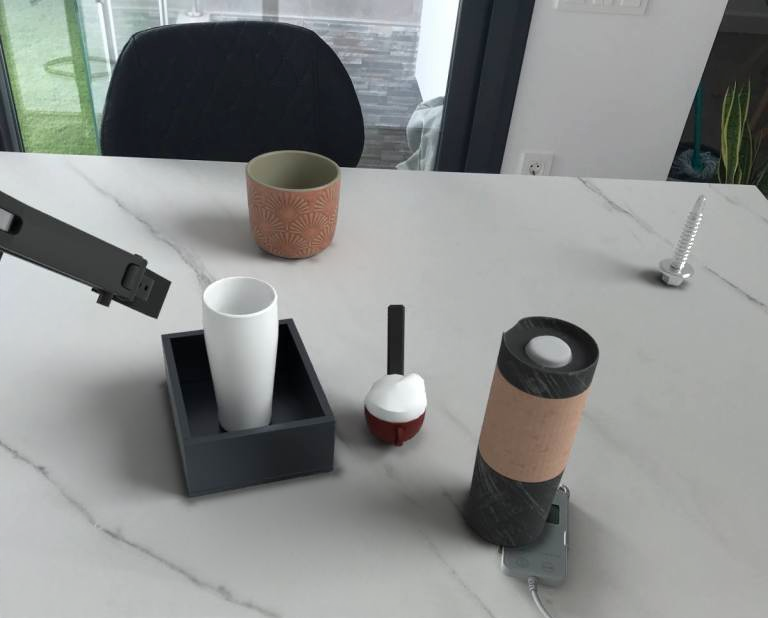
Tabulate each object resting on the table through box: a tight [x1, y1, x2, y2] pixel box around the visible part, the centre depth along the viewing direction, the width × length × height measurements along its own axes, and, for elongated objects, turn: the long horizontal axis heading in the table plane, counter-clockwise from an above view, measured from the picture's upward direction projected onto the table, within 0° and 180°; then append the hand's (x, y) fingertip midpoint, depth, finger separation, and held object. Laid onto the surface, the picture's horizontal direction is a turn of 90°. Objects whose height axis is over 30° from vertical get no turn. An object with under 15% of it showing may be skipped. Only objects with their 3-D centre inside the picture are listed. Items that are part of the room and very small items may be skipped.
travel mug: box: [466, 315, 600, 548], centre depth 65 cm, size 8×8×20 cm
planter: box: [244, 149, 342, 259], centre depth 104 cm, size 12×12×11 cm
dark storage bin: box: [160, 317, 337, 498], centre depth 76 cm, size 17×14×7 cm
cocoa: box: [363, 304, 428, 447], centre depth 76 cm, size 10×6×12 cm, turn 163°
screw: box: [657, 194, 707, 287], centre depth 104 cm, size 13×5×5 cm
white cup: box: [201, 275, 280, 432], centre depth 73 cm, size 7×7×15 cm
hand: (78, 271), depth 54 cm, fingers open, 13 cm apart
